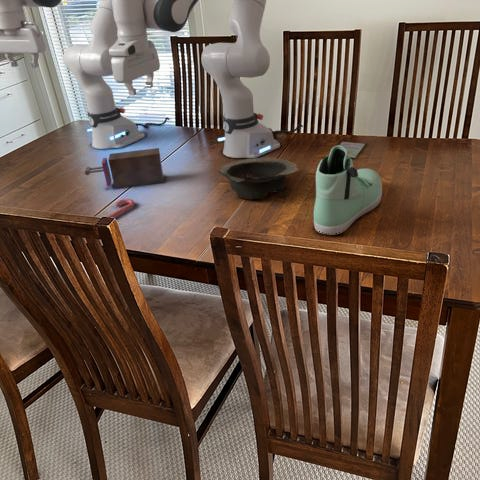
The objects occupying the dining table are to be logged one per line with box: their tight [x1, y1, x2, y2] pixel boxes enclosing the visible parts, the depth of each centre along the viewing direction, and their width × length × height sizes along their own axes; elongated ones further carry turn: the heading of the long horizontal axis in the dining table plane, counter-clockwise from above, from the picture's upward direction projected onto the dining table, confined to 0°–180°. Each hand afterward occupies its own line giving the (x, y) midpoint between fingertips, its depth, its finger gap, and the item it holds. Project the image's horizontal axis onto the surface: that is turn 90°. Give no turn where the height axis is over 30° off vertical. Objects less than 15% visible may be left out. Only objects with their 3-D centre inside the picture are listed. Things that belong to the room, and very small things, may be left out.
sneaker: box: [313, 145, 383, 236], centre depth 133 cm, size 14×35×20 cm, turn 152°
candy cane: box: [106, 198, 135, 218], centre depth 146 cm, size 6×15×2 cm, turn 145°
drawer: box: [84, 157, 113, 187], centre depth 162 cm, size 22×4×9 cm, turn 99°
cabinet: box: [107, 147, 165, 190], centre depth 163 cm, size 17×6×10 cm, turn 99°
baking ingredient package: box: [338, 141, 366, 158], centre depth 177 cm, size 9×1×15 cm
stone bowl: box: [217, 157, 299, 201], centre depth 152 cm, size 25×25×9 cm
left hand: (25, 66), depth 159 cm, fingers open, 8 cm apart
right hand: (141, 91), depth 153 cm, fingers open, 8 cm apart
